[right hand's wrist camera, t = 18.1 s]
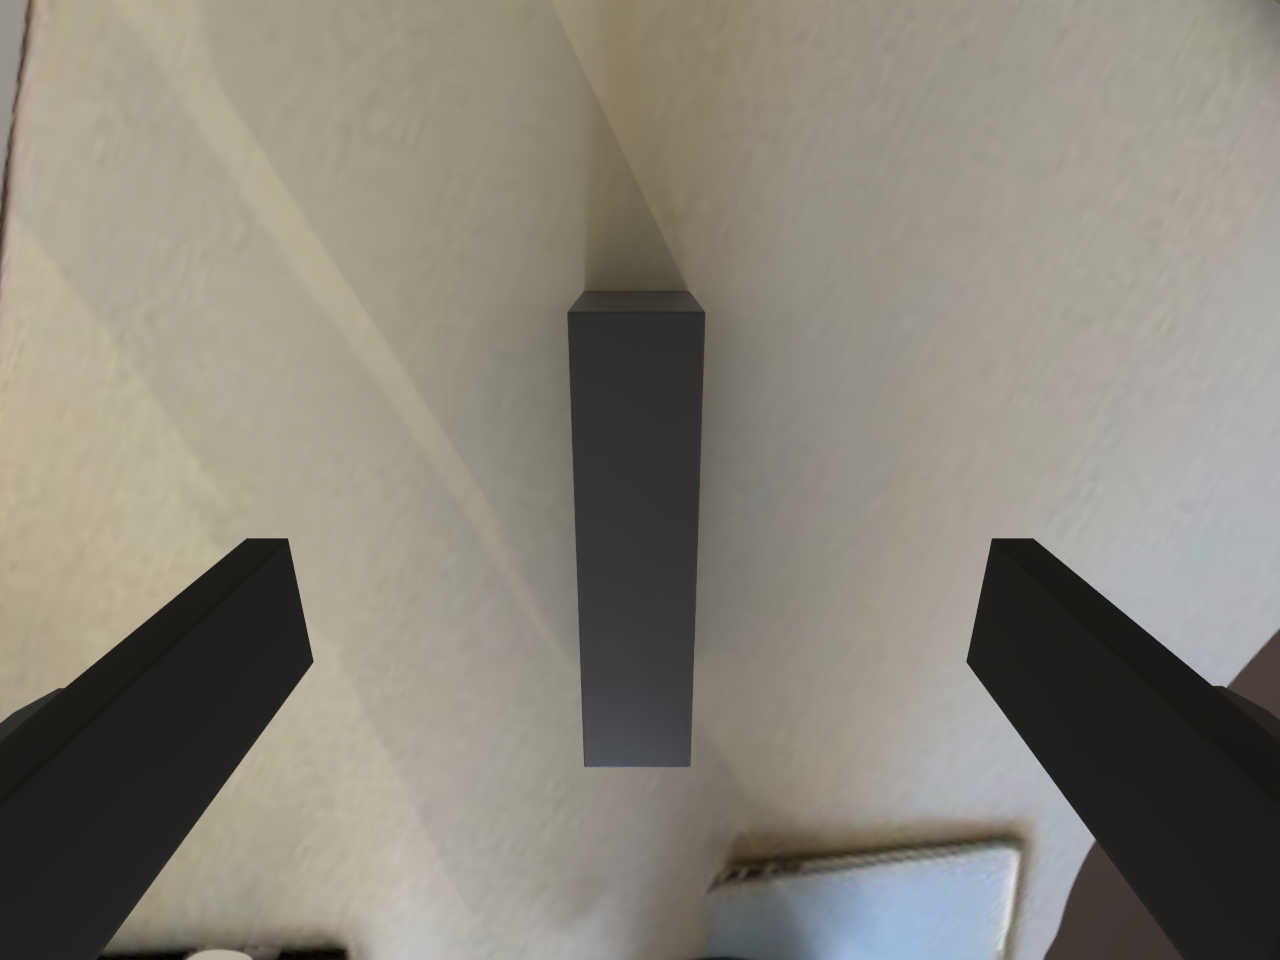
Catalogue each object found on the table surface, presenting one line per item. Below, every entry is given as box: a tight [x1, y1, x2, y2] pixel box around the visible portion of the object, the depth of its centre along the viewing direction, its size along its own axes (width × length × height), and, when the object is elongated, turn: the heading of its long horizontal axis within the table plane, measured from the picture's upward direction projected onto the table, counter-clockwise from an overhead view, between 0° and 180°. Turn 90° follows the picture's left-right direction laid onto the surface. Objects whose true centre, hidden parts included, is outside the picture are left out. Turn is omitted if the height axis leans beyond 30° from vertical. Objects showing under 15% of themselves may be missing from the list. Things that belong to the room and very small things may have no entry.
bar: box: [568, 291, 705, 767], centre depth 36 cm, size 24×6×9 cm, turn 0°
